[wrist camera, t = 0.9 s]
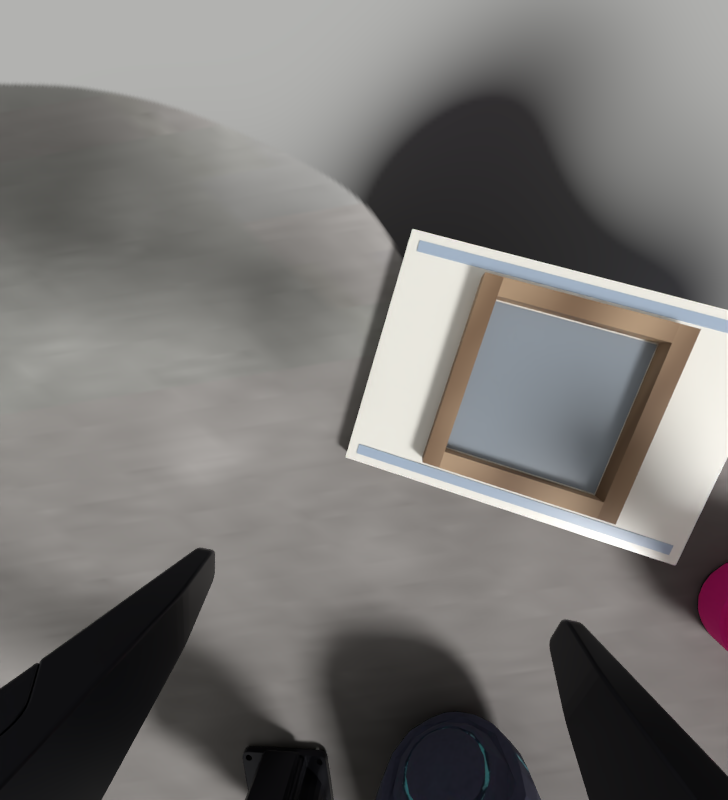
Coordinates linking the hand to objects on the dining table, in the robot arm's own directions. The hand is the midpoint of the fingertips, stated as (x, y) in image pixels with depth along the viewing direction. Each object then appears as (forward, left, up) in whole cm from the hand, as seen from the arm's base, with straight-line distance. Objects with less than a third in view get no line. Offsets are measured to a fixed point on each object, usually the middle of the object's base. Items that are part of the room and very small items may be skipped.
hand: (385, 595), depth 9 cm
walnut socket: (+3, -8, -13) cm, 16 cm away
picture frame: (+3, -8, -14) cm, 16 cm away
